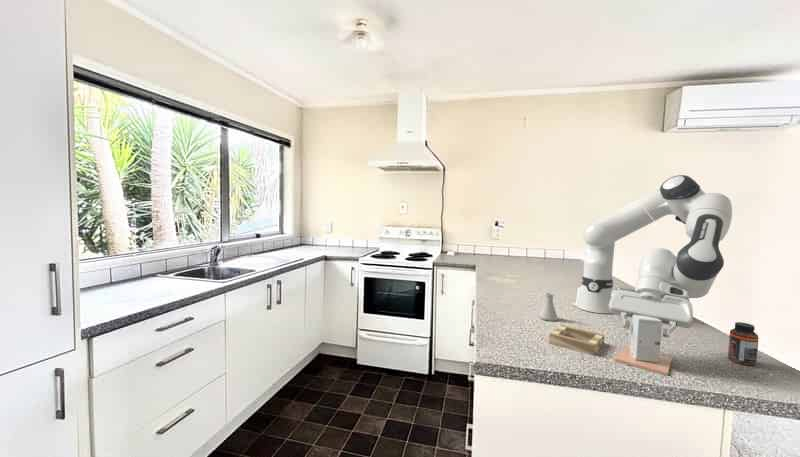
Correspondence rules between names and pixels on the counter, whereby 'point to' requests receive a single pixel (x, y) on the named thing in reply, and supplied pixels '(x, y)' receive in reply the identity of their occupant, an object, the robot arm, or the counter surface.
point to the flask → (548, 309)
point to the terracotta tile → (644, 362)
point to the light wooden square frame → (577, 339)
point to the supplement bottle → (743, 344)
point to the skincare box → (645, 338)
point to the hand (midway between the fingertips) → (645, 331)
